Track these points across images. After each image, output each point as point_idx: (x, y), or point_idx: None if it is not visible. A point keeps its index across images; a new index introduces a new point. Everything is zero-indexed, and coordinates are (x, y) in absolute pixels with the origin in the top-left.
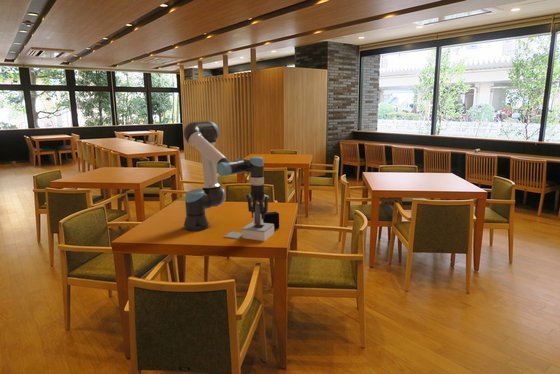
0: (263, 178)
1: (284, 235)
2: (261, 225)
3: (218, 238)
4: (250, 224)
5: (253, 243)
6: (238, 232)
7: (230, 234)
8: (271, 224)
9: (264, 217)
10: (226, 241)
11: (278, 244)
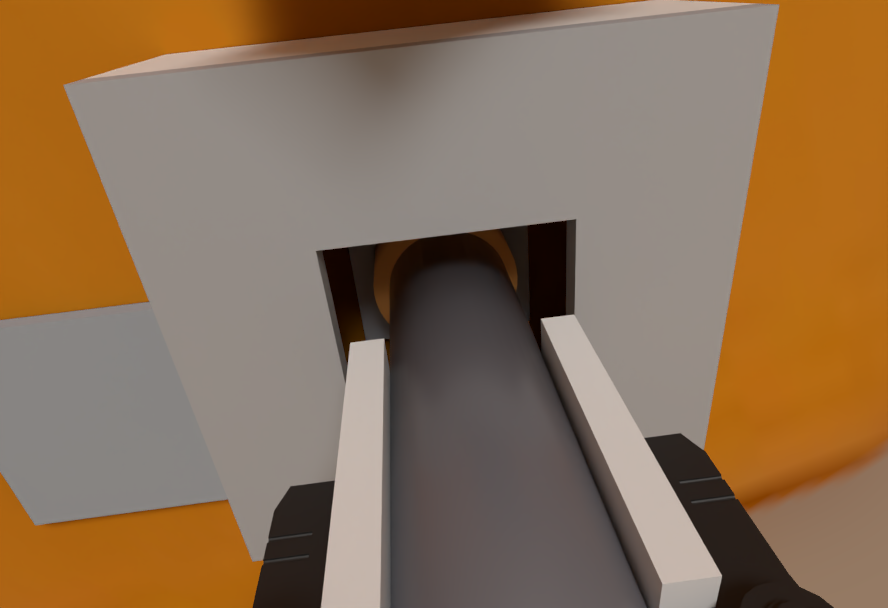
0: None
1: (882, 28)
2: (528, 323)
3: (21, 560)
4: (221, 330)
5: None
6: (58, 320)
7: (38, 440)
8: (718, 91)
9: (708, 457)
10: (195, 579)
11: (833, 403)
